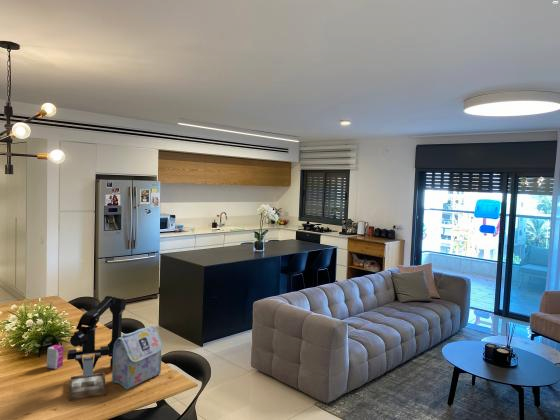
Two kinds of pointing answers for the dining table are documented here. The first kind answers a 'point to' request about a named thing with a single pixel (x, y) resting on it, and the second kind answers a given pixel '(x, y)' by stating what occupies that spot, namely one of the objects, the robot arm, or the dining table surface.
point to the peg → (87, 366)
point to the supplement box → (54, 357)
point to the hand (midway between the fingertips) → (88, 369)
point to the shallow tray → (87, 386)
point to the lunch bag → (136, 357)
